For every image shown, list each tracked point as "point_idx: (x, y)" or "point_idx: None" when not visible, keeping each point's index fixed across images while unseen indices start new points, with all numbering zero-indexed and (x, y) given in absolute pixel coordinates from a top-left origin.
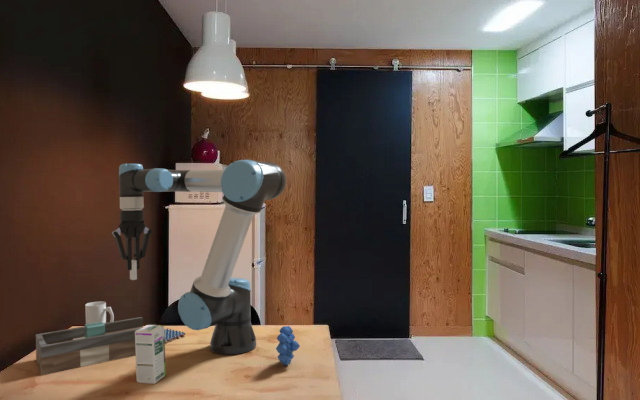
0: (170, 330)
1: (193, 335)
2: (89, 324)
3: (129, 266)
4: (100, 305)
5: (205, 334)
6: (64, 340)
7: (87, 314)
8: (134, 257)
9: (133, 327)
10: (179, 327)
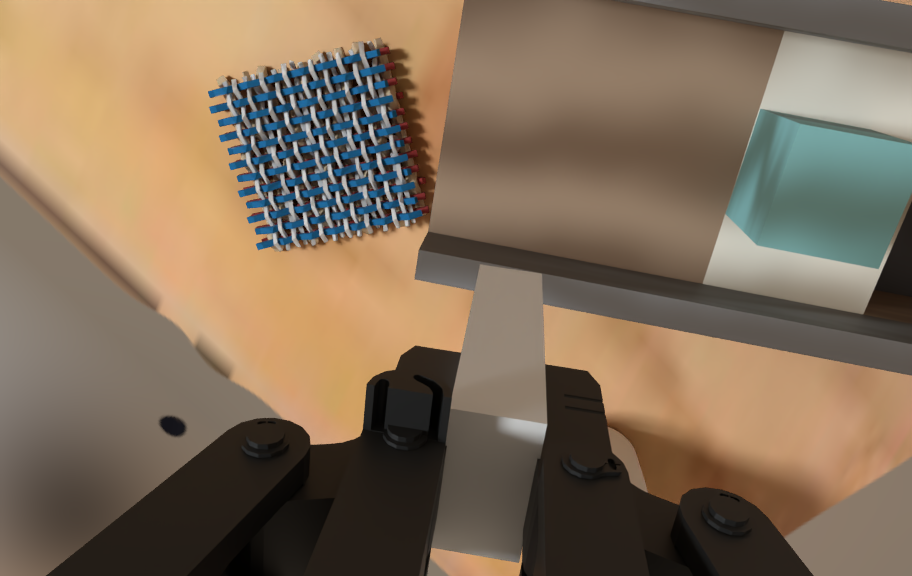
0: (261, 200)
1: (170, 58)
2: (861, 235)
3: (577, 399)
4: None
5: (102, 15)
6: (909, 322)
7: None
8: (430, 549)
9: (489, 243)
10: (177, 274)
